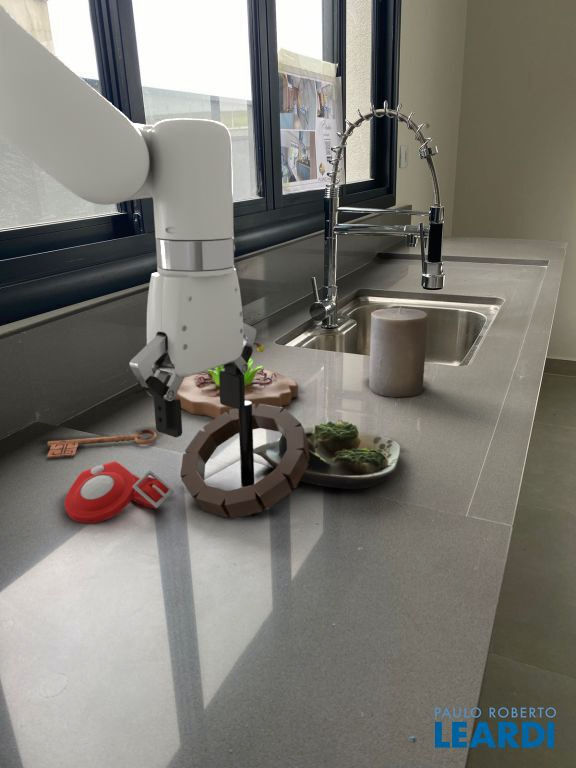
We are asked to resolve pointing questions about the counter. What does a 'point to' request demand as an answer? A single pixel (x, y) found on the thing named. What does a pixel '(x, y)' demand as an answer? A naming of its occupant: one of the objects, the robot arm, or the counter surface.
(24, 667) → the counter surface
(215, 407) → the plant
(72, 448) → the key
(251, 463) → the stand
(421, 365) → the pillar candle
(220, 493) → the ring
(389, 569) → the counter surface
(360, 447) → the salad plate
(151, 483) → the tracker holder
